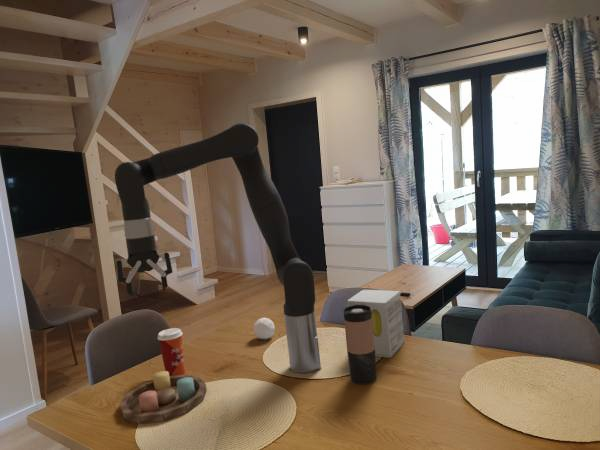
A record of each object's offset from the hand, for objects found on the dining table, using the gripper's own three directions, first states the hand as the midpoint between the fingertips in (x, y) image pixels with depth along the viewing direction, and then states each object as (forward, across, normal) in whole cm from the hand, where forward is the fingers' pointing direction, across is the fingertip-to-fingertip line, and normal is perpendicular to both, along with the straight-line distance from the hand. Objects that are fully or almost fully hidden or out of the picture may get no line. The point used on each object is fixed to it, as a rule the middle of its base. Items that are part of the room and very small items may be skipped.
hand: (148, 292), depth 125 cm
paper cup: (+30, +5, +12) cm, 33 cm away
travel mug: (+30, +52, -23) cm, 65 cm away
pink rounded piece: (+29, -4, -11) cm, 31 cm away
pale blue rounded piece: (+29, +6, -8) cm, 31 cm away
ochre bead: (+29, 0, 0) cm, 29 cm away
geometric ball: (+30, +38, +25) cm, 54 cm away
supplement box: (+30, +67, -7) cm, 74 cm away
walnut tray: (+30, 0, -6) cm, 31 cm away
